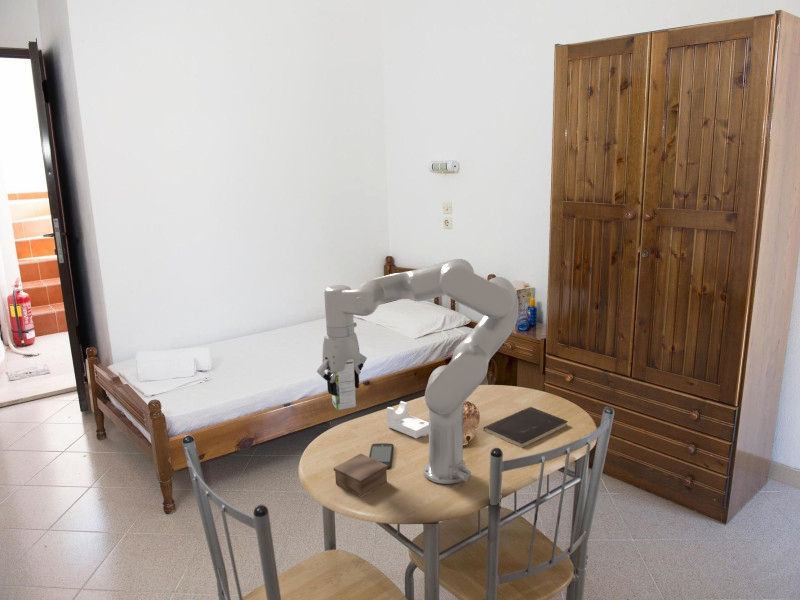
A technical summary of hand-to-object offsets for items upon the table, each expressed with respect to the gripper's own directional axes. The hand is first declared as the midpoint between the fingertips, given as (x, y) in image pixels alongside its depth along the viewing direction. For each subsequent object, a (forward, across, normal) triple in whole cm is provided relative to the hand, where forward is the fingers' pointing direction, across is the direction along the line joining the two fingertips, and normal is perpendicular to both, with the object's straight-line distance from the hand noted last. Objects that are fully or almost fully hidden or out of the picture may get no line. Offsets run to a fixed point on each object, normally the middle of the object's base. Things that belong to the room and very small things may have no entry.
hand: (343, 390), depth 178 cm
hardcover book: (+25, -58, +19) cm, 66 cm away
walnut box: (+24, +2, +10) cm, 26 cm away
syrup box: (+5, 0, 0) cm, 5 cm away
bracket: (+25, -28, -6) cm, 38 cm away
